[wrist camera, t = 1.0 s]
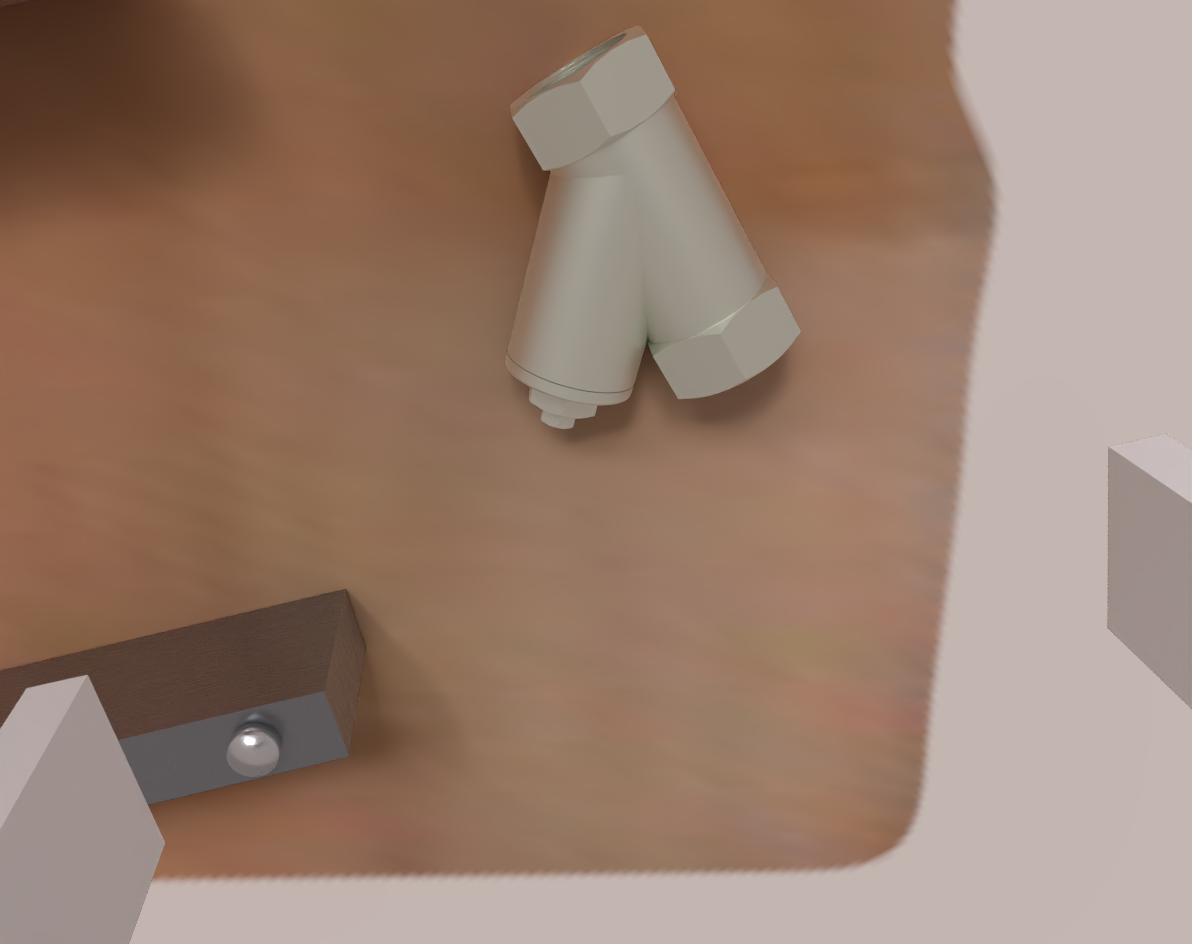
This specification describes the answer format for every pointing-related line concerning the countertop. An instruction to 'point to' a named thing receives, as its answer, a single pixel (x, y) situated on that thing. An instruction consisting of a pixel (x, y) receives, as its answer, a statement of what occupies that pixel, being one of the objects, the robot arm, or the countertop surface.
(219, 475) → the countertop surface
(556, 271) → the pipe fitting
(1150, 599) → the robot arm
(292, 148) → the countertop surface
